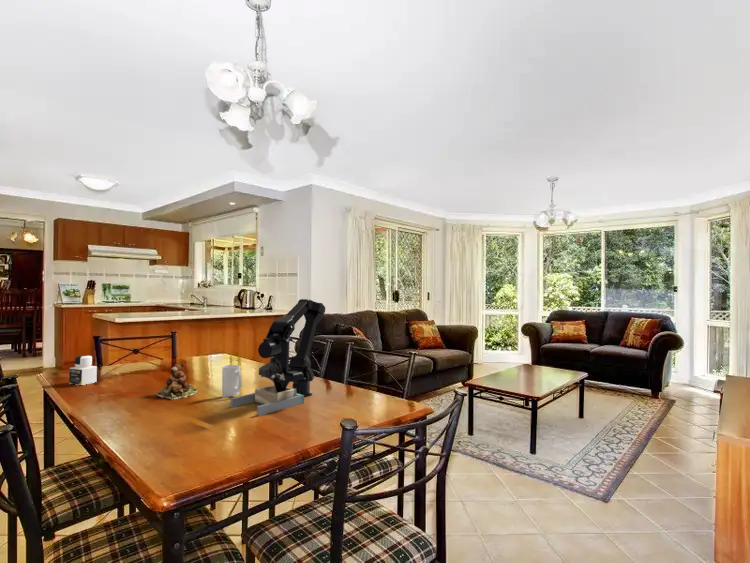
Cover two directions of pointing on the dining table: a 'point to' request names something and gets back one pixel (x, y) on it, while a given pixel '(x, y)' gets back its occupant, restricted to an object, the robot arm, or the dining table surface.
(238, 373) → the mug
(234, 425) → the dining table surface
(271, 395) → the crate
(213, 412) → the dining table surface
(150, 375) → the dining table surface
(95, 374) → the medicine bottle
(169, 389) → the bear figurine
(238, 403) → the bay
